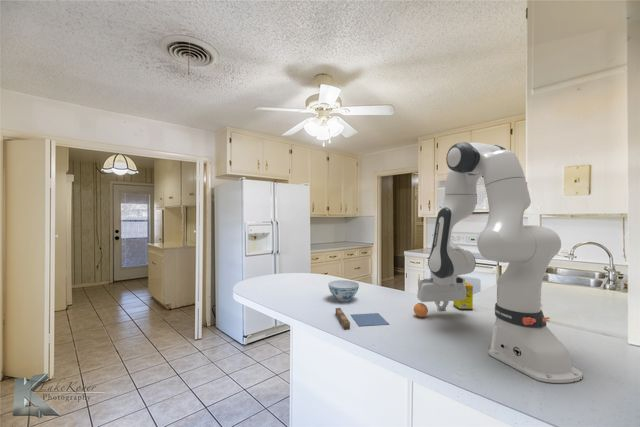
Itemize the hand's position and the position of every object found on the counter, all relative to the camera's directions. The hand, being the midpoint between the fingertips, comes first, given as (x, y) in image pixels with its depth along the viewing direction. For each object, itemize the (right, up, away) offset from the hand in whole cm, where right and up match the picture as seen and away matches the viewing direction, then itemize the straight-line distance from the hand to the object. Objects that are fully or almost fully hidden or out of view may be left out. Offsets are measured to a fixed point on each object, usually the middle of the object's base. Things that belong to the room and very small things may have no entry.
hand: (441, 311), depth 120 cm
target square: (-31, -2, -5) cm, 31 cm away
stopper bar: (-42, -2, -7) cm, 42 cm away
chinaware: (-39, -2, +21) cm, 44 cm away
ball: (-9, +1, -2) cm, 9 cm away
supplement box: (+13, -2, +9) cm, 16 cm away
